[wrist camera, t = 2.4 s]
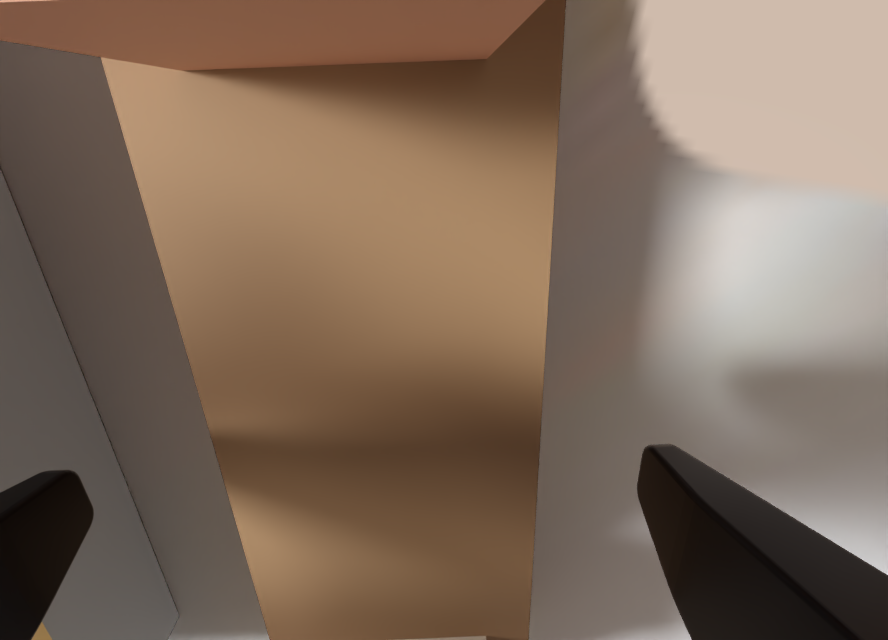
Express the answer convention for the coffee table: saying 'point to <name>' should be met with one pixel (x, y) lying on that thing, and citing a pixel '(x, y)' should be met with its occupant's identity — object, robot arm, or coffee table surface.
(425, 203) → the pallet
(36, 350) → the panel
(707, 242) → the coffee table surface
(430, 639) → the block
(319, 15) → the block
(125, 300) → the coffee table surface
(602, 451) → the coffee table surface
